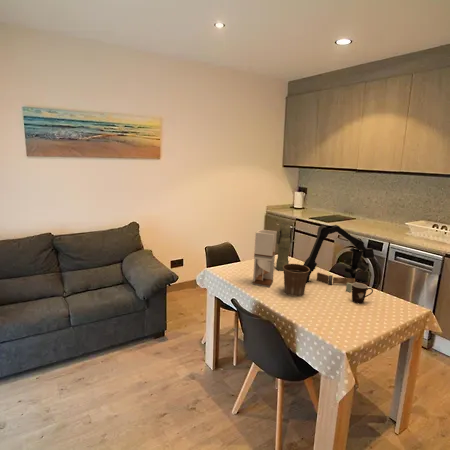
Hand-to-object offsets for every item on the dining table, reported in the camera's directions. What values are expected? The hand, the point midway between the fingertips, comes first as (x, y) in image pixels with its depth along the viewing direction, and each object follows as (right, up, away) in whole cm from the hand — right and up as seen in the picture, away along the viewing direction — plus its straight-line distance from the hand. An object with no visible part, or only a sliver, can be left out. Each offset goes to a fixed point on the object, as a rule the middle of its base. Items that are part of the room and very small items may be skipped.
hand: (353, 279), depth 225 cm
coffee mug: (-7, -8, -29) cm, 31 cm away
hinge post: (-20, -2, 0) cm, 20 cm away
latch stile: (-9, -5, -15) cm, 18 cm away
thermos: (-45, +4, +23) cm, 51 cm away
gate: (-8, -2, -4) cm, 9 cm away
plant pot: (-45, -5, -20) cm, 49 cm away
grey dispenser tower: (-63, -2, -7) cm, 63 cm away
